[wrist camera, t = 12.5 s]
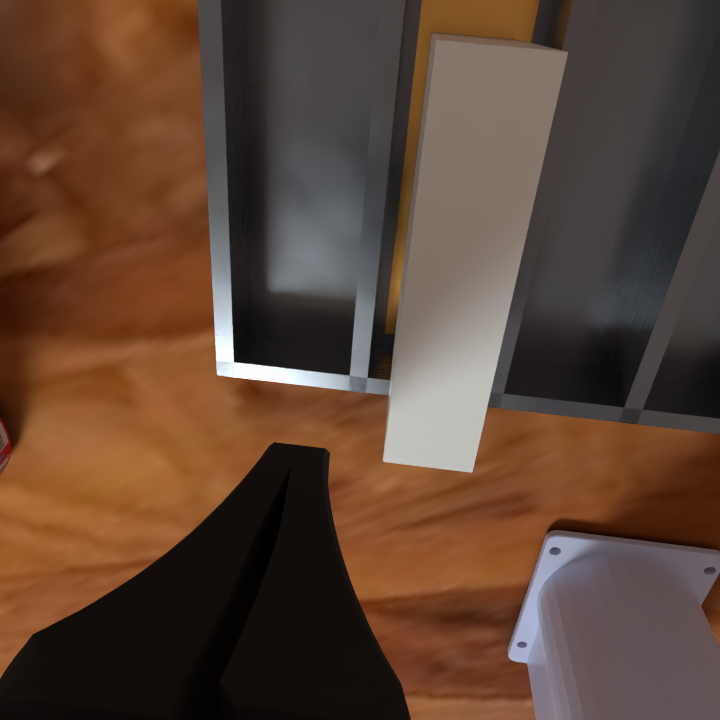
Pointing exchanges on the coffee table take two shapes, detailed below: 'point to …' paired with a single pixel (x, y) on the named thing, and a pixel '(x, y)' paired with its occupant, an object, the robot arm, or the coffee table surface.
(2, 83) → the coffee table surface
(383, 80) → the rack
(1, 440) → the soda can
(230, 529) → the robot arm
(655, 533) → the coffee table surface
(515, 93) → the panel
